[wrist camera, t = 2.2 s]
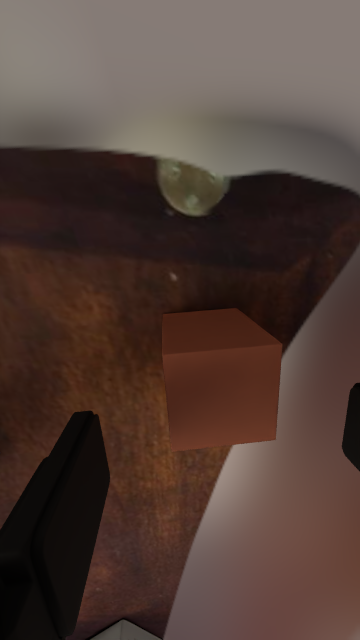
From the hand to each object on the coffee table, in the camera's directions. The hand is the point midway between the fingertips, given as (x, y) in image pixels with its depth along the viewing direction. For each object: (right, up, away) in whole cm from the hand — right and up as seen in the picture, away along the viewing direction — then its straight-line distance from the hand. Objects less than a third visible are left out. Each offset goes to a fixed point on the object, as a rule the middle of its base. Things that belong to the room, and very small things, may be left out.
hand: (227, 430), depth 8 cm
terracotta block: (0, +2, +6) cm, 6 cm away
